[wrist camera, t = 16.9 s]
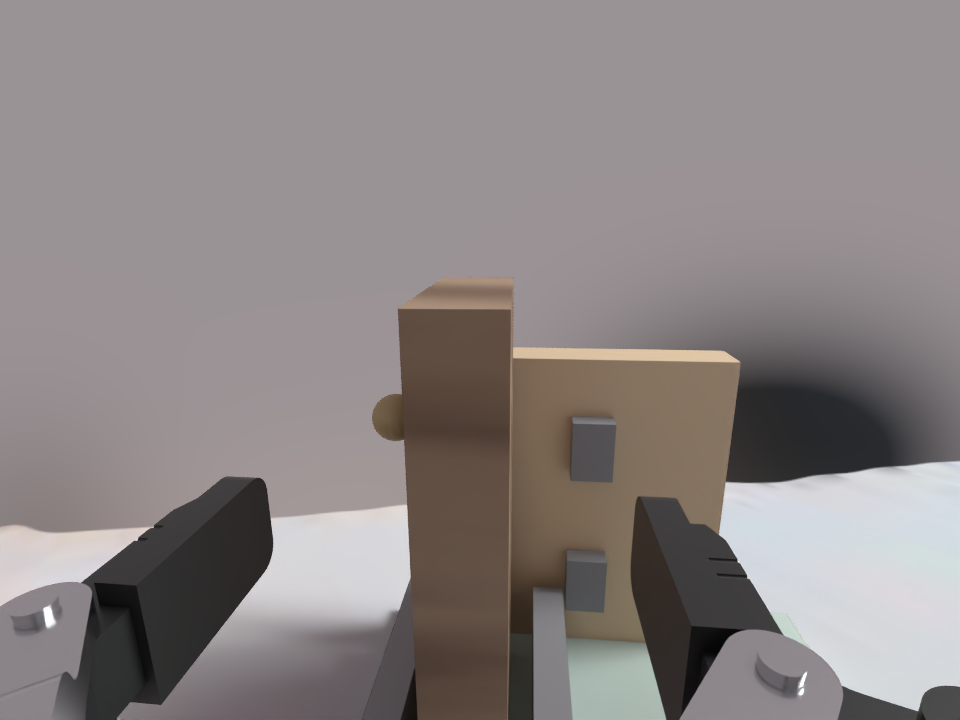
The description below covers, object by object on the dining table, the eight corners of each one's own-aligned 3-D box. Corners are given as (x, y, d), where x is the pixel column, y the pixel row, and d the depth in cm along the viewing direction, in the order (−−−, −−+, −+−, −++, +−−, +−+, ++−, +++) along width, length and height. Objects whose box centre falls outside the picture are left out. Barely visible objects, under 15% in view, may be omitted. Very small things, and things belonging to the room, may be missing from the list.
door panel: (506, 842, 15) (511, 309, 11) (388, 832, 15) (351, 308, 11) (509, 652, 22) (513, 277, 18) (428, 648, 22) (413, 277, 18)
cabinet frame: (1294, 1470, 8) (1941, 807, 4) (212, 1253, 10) (49, 654, 6) (783, 634, 24) (832, 349, 21) (412, 609, 26) (399, 342, 23)
